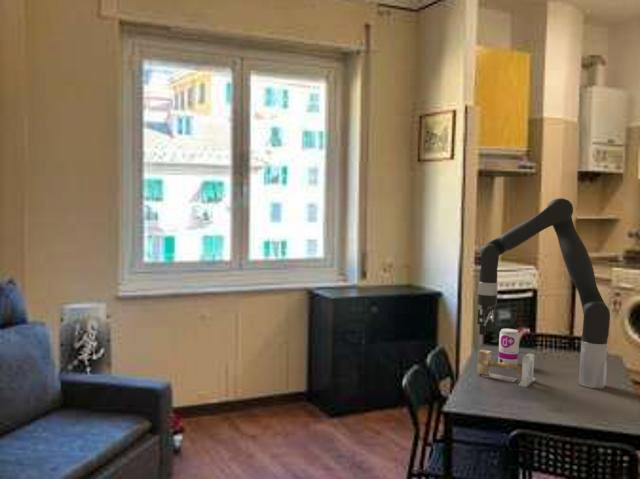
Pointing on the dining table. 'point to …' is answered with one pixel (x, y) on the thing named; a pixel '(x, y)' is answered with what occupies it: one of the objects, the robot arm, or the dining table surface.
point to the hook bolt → (492, 363)
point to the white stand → (526, 372)
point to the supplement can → (508, 346)
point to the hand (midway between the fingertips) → (485, 333)
